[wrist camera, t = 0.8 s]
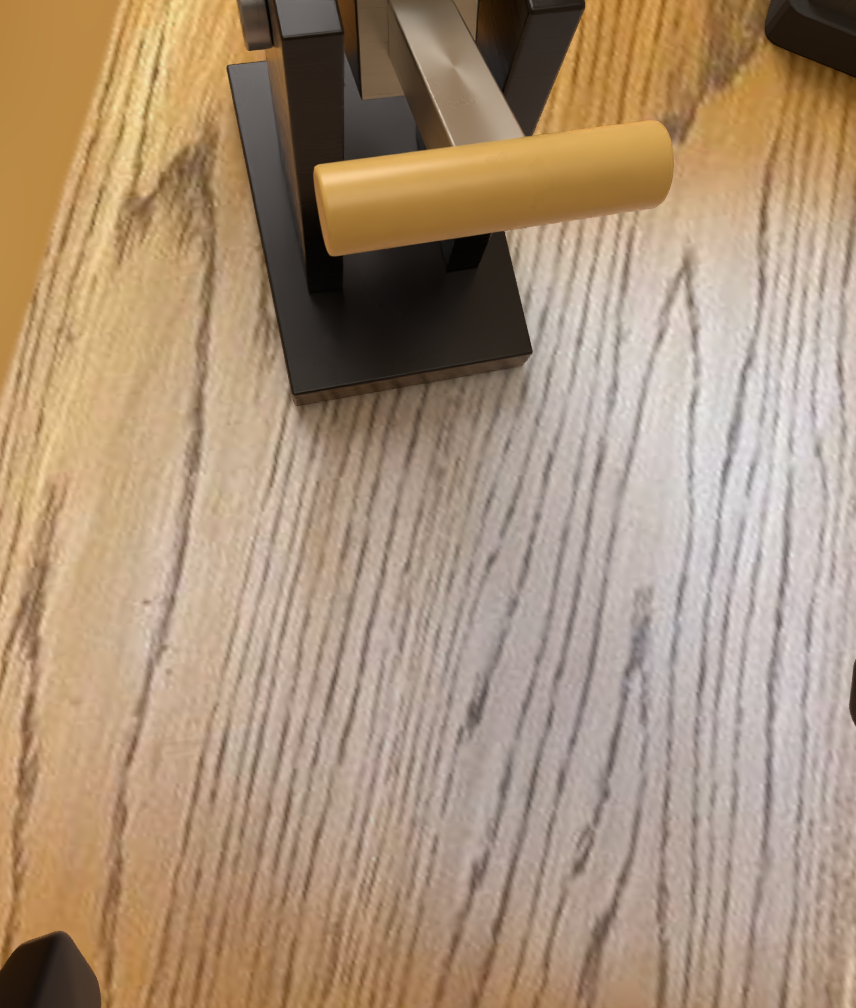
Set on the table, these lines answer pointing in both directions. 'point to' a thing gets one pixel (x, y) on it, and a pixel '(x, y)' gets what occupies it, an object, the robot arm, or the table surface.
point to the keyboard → (816, 30)
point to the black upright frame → (387, 272)
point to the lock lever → (469, 143)
